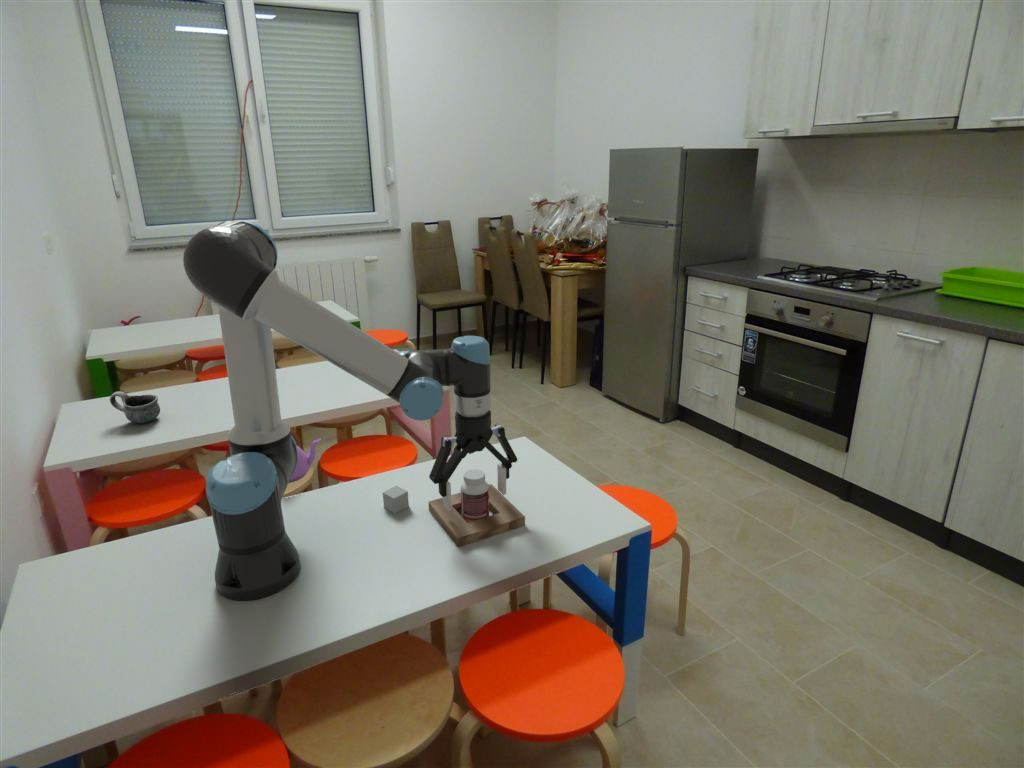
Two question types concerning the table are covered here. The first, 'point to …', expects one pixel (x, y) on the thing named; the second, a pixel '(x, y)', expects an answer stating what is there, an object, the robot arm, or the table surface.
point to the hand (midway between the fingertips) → (475, 499)
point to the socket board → (482, 528)
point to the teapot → (304, 462)
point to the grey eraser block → (395, 499)
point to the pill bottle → (474, 495)
